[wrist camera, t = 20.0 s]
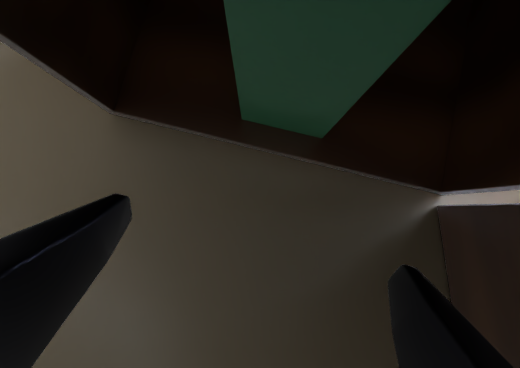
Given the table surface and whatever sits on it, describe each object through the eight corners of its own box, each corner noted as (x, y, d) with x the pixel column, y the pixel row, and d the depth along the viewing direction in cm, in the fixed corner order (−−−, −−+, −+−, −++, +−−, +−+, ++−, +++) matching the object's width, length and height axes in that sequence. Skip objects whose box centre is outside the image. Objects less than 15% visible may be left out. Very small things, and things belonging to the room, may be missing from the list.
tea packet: (322, 138, 18) (533, -83, 4) (241, 119, 18) (196, -162, 4) (333, 87, 18) (557, -263, 5) (254, 68, 18) (251, -332, 5)
